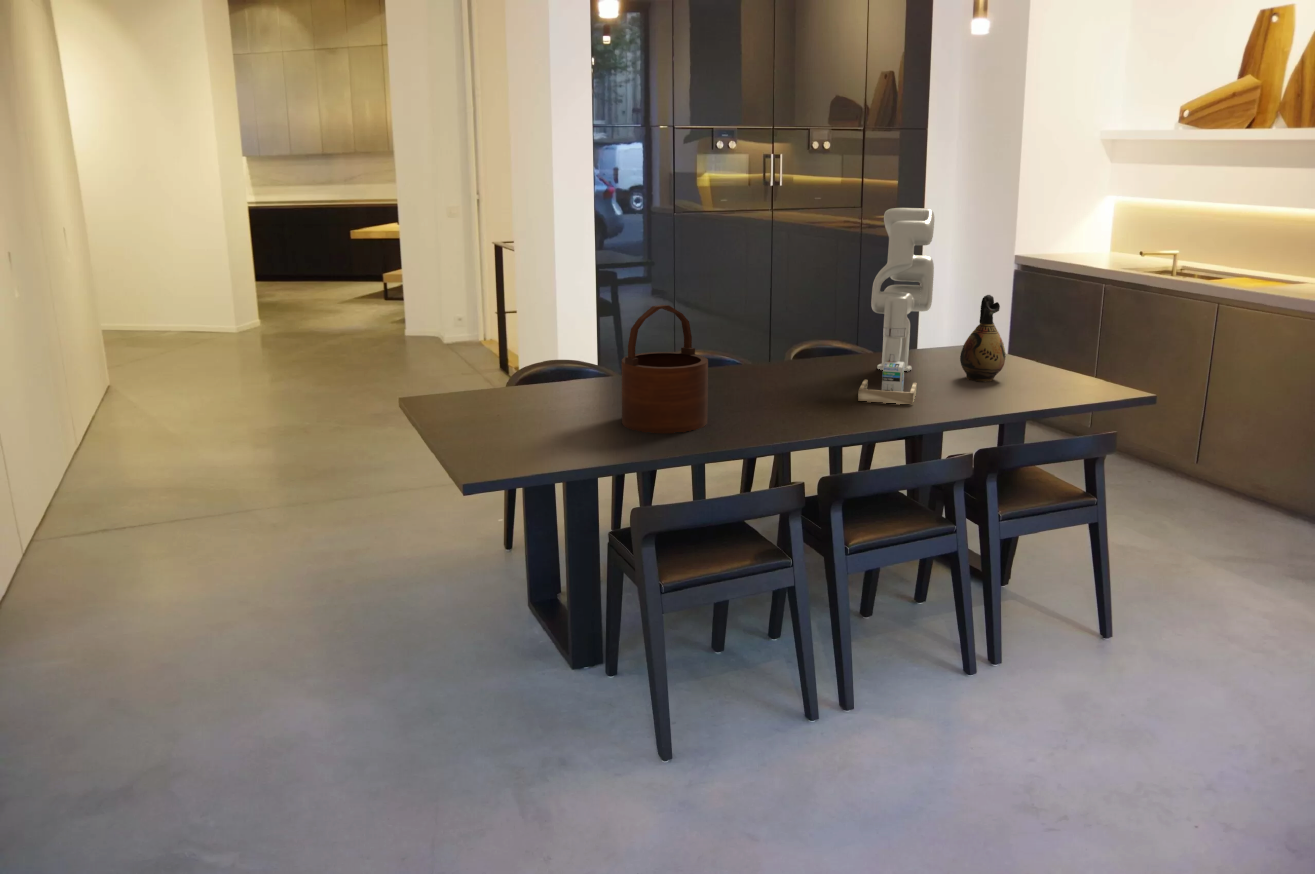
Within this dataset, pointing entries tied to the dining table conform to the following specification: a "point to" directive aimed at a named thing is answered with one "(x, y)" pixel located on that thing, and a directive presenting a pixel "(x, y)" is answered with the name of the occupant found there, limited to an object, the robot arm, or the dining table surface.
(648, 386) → the wooden bucket
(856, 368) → the dining table surface
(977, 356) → the ceramic jug
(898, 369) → the light bulb box
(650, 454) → the dining table surface
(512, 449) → the dining table surface
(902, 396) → the birch stall
